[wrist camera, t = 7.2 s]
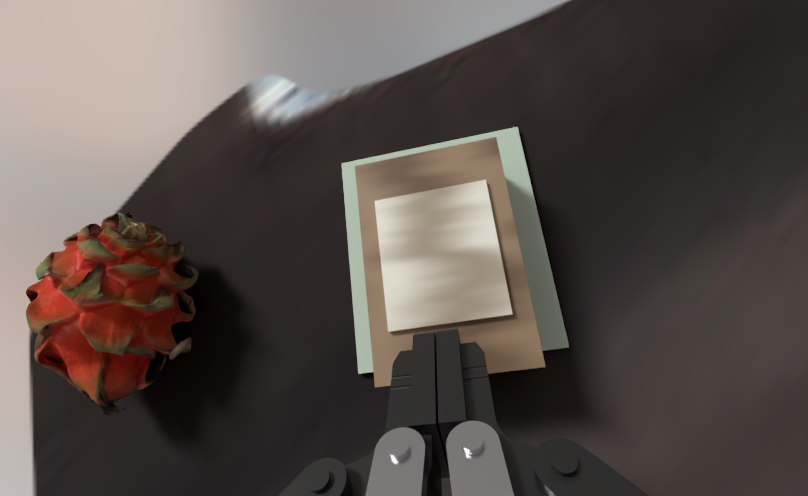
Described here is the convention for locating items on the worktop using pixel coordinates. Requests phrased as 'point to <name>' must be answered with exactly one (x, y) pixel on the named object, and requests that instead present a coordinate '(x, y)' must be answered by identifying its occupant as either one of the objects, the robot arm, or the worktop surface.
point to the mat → (527, 233)
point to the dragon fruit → (110, 308)
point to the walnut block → (444, 256)
